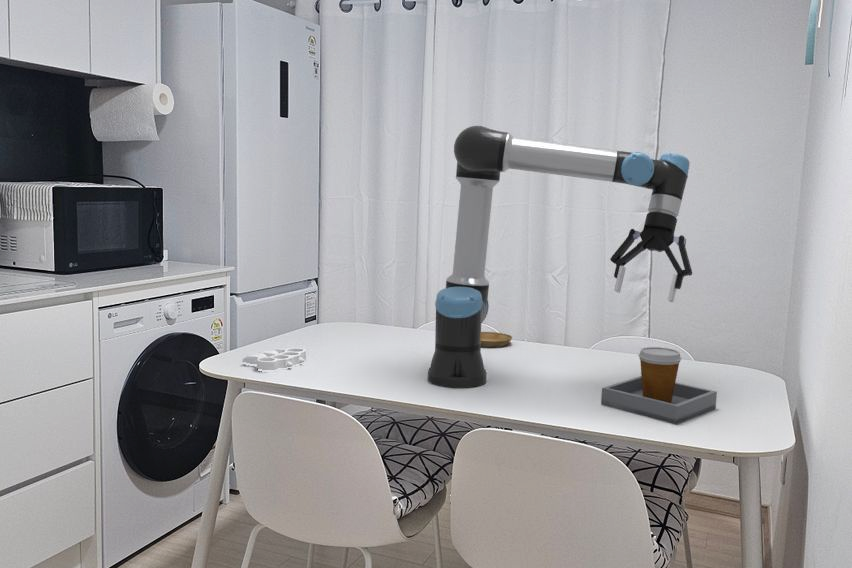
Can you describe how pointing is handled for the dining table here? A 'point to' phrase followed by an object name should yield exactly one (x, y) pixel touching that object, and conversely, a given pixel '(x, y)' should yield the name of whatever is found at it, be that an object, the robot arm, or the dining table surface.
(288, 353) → the white holed plate
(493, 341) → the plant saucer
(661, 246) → the robot arm
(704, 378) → the dining table surface
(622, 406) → the grey tray
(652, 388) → the disposable coffee cup
